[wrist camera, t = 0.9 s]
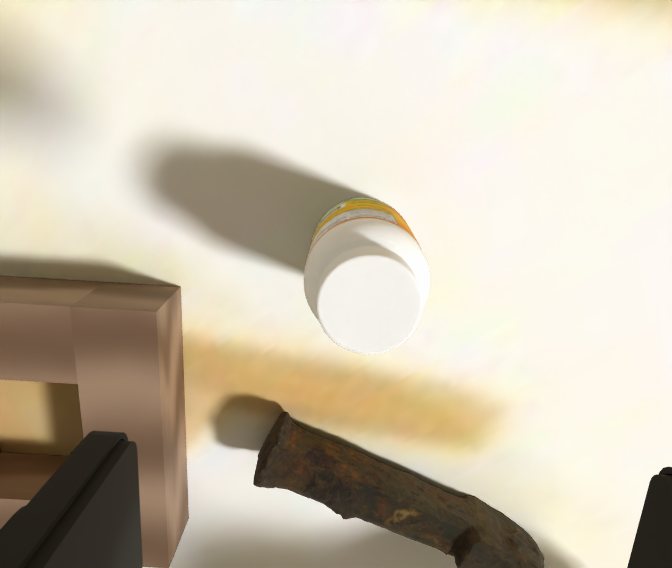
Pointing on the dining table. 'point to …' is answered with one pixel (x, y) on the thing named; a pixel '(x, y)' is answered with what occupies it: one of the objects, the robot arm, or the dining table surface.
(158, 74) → the dining table surface
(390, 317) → the supplement bottle
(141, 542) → the robot arm
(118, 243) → the dining table surface
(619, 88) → the dining table surface
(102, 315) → the collar block
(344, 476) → the hand tool
